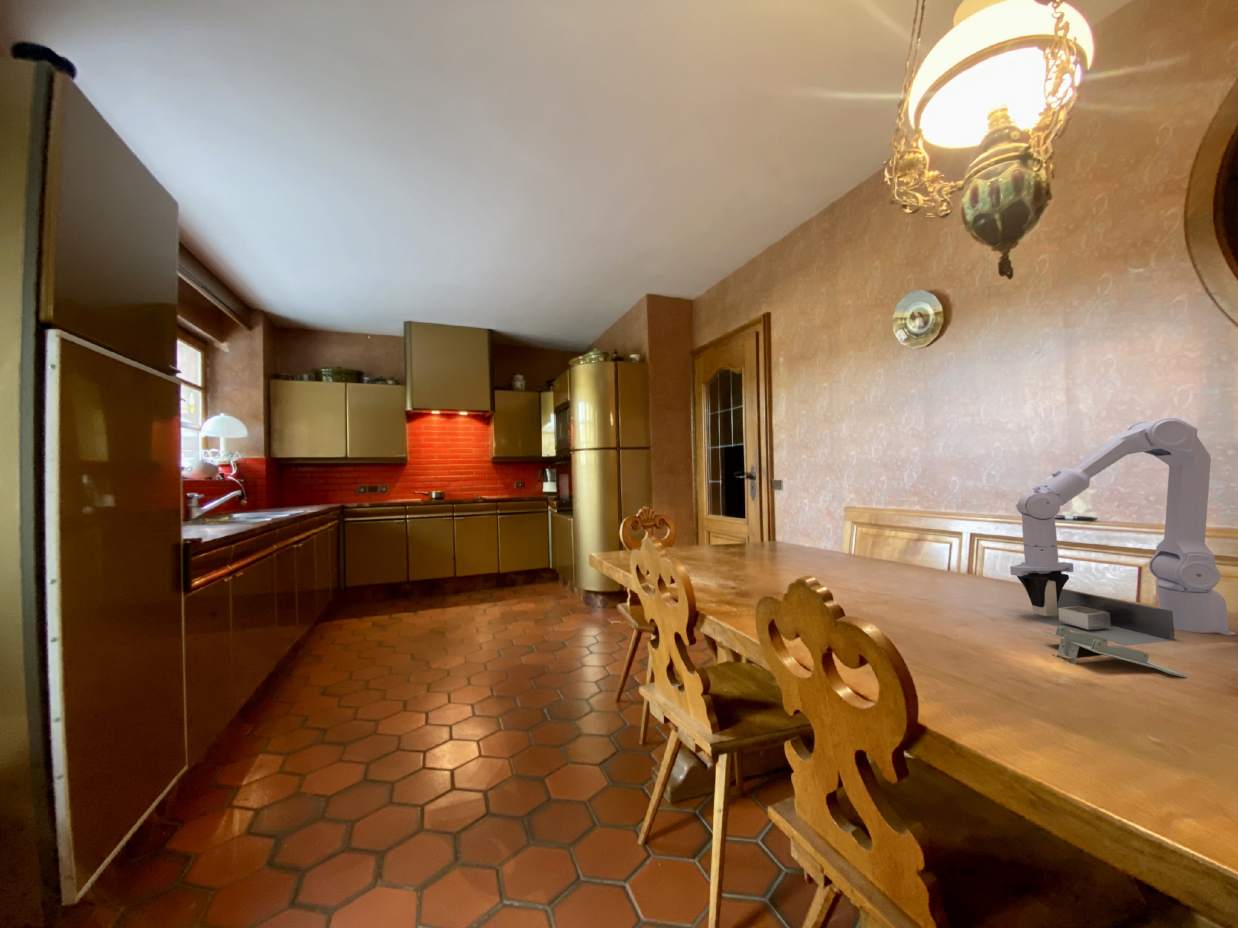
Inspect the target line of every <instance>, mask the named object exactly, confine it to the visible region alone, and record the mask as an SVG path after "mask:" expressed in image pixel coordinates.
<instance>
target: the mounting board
mask: <svg viewBox="0 0 1238 928" xmlns="http://www.w3.org/2000/svg"><path fill="white" fill-rule="evenodd" d="M1019 617H1023V618H1026V619H1030V620H1033V621H1037V622H1041V623H1044V624H1047V625H1052V626H1055V627H1059V626H1062V627H1064V628H1066V629H1067V630H1069V631H1071V632H1085V633H1088V634H1092V635H1096V636H1100V637H1103V638H1106V639H1107V640H1108V641H1109V642H1113V643H1115V644H1119V645H1121V646H1133V645H1142V644H1150V643H1151V644H1154V643H1160V642H1170V641H1172V640H1167V639H1163V638H1159V637H1155V636H1151V635H1147V634H1144V633H1140V632H1136V631H1132V630H1128V629H1124V628H1120V627H1116V626H1112V625H1111V628H1101V629H1091V630H1088V629H1084V628H1080V627H1077V626H1073V625H1069V624H1066V623H1062V622H1059V612H1058V615H1054V616H1044V615H1040V614H1036V613H1030V614H1029V613H1028V614H1019ZM1174 641H1177V638H1175V640H1174Z"/></svg>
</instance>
